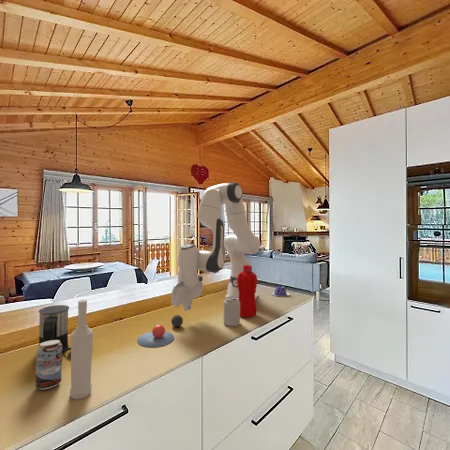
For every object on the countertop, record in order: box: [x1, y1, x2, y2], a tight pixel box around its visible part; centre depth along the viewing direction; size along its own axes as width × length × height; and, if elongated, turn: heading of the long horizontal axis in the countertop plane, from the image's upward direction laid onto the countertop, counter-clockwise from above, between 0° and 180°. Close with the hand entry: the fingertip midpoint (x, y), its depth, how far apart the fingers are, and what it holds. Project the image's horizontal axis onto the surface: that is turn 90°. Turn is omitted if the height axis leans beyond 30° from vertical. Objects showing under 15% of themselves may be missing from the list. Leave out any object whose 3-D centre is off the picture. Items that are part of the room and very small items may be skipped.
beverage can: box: [34, 340, 63, 390], centre depth 75 cm, size 6×7×12 cm
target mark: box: [136, 331, 175, 348], centre depth 105 cm, size 14×14×1 cm
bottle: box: [69, 299, 94, 400], centre depth 71 cm, size 5×5×25 cm
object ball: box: [151, 324, 166, 338], centre depth 106 cm, size 5×5×5 cm
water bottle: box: [237, 264, 258, 319], centre depth 134 cm, size 9×11×25 cm
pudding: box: [270, 285, 291, 298], centre depth 174 cm, size 12×12×5 cm
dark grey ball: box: [170, 314, 184, 328], centre depth 118 cm, size 5×5×5 cm
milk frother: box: [38, 304, 71, 354], centre depth 94 cm, size 14×16×15 cm
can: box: [223, 296, 241, 328], centre depth 122 cm, size 8×8×12 cm
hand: (187, 309), depth 123 cm, fingers closed
